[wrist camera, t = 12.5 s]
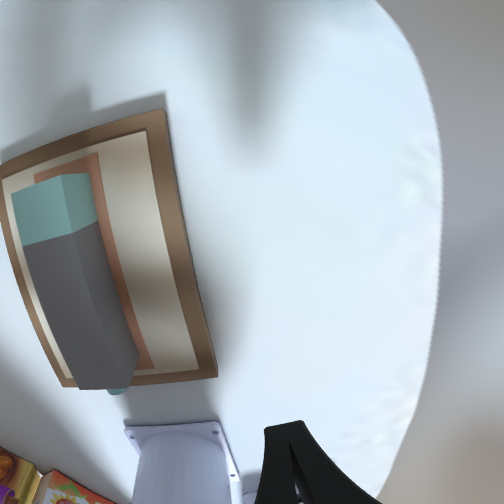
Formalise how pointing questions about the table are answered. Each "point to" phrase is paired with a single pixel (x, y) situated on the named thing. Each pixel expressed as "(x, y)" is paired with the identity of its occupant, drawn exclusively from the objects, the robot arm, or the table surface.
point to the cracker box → (64, 491)
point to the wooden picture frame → (125, 243)
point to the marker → (76, 281)
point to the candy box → (16, 479)
